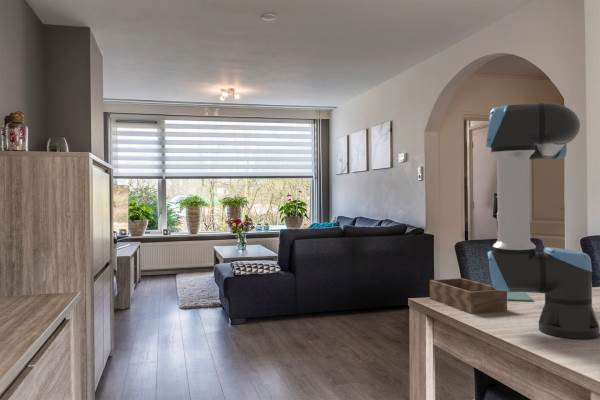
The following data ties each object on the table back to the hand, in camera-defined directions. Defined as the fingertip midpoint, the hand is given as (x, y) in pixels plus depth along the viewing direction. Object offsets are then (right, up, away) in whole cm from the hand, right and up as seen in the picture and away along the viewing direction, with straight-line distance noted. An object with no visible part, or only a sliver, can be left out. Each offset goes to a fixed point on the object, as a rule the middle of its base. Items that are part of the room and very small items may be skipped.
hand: (508, 237), depth 184 cm
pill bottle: (0, -2, 0) cm, 2 cm away
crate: (-20, -23, -11) cm, 33 cm away
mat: (0, -23, 0) cm, 23 cm away
